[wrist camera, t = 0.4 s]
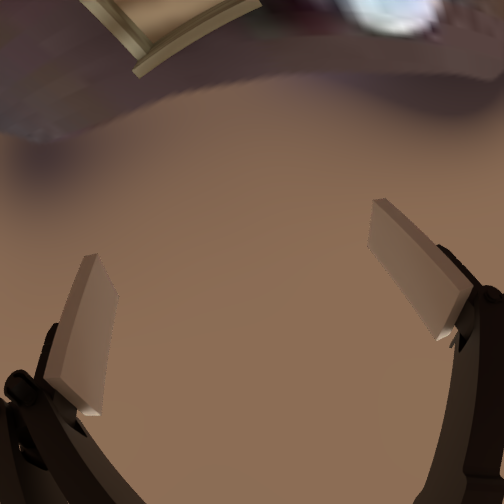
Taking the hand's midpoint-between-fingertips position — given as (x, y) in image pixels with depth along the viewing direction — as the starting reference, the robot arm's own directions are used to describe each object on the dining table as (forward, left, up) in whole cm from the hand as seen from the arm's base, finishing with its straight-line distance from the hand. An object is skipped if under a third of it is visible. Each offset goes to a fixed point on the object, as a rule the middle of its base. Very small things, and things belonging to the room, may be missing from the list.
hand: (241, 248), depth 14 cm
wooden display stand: (-11, 0, -29) cm, 31 cm away
